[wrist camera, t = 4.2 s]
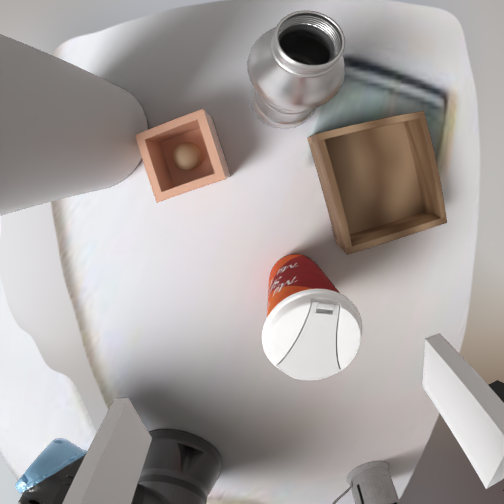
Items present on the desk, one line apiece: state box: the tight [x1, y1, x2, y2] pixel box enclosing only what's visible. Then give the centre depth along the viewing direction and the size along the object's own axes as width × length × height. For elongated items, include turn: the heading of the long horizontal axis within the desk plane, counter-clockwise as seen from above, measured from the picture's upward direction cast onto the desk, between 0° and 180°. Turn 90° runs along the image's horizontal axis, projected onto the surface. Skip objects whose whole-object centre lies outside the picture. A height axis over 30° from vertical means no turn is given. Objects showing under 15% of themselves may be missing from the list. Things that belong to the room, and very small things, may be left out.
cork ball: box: [173, 142, 202, 171], centre depth 33 cm, size 3×3×3 cm
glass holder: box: [333, 461, 400, 504], centre depth 42 cm, size 9×14×15 cm, turn 85°
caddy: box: [307, 111, 447, 255], centre depth 33 cm, size 12×12×5 cm
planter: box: [135, 109, 230, 203], centre depth 32 cm, size 7×7×6 cm
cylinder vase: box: [0, 34, 148, 216], centre depth 22 cm, size 12×12×25 cm
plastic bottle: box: [247, 11, 345, 129], centre depth 23 cm, size 6×7×20 cm
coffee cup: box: [262, 254, 362, 380], centre depth 31 cm, size 8×8×15 cm
